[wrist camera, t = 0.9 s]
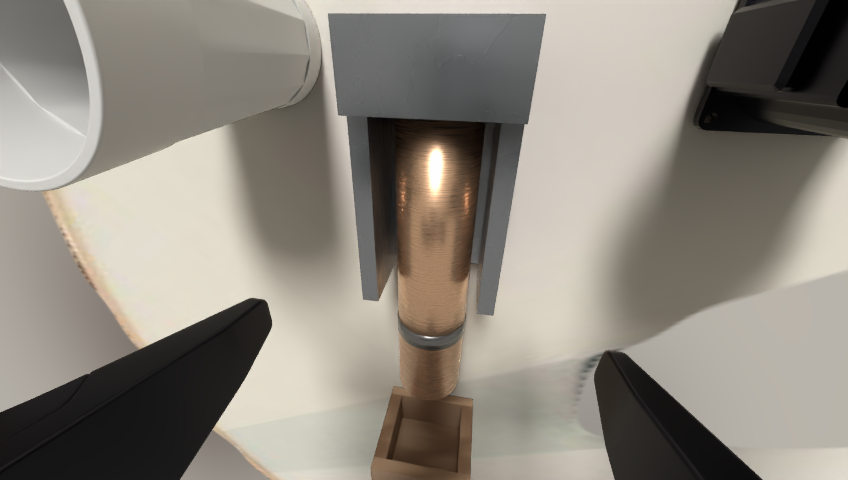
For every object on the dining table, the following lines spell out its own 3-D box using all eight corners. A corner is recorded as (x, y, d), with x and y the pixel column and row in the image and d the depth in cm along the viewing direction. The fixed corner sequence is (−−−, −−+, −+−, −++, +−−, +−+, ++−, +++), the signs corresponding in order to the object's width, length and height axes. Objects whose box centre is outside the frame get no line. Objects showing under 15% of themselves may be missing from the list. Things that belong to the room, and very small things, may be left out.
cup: (271, 149, 20) (32, 241, 9) (165, 23, 17) (-322, -44, 7) (367, 63, 17) (169, 58, 6) (254, -105, 14) (-395, -593, 4)
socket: (472, 399, 28) (469, 488, 22) (468, 427, 29) (465, 515, 24) (393, 386, 28) (370, 468, 23) (394, 414, 30) (373, 496, 25)
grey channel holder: (384, 33, 16) (328, 13, 10) (522, 34, 15) (546, 13, 9) (391, 245, 21) (357, 309, 16) (490, 255, 21) (493, 327, 15)
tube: (404, 56, 15) (379, 52, 11) (492, 58, 14) (495, 54, 11) (406, 347, 24) (392, 395, 20) (460, 354, 24) (456, 406, 20)
